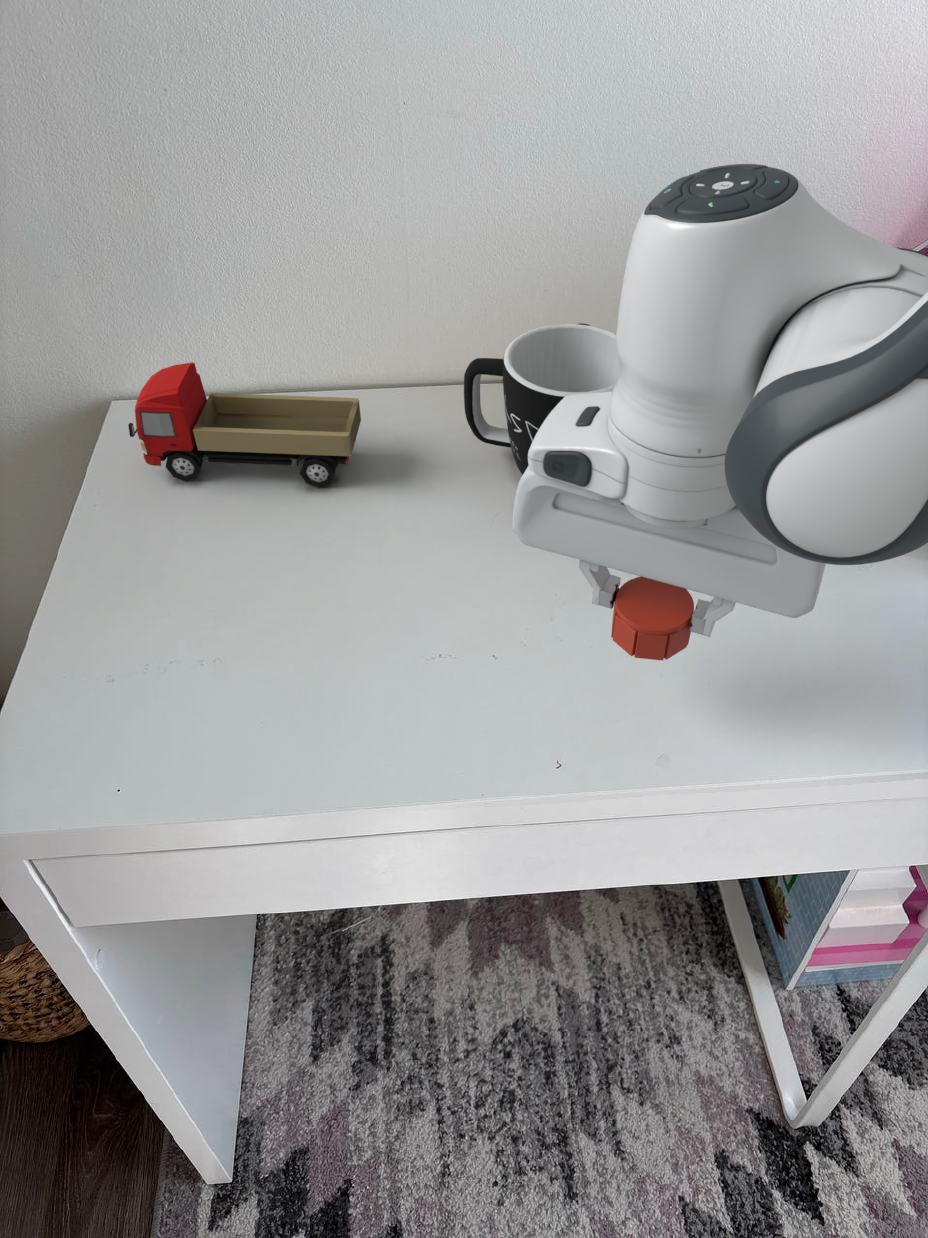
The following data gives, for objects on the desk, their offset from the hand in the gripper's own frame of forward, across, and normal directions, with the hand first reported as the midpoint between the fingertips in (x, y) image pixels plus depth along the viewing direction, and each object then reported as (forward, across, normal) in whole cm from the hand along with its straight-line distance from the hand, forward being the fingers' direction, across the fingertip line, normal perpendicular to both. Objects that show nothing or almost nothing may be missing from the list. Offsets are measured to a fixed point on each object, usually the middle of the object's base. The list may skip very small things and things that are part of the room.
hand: (652, 614), depth 68 cm
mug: (+9, +15, -25) cm, 30 cm away
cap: (+2, 0, 0) cm, 2 cm away
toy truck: (+8, +43, -13) cm, 45 cm away
